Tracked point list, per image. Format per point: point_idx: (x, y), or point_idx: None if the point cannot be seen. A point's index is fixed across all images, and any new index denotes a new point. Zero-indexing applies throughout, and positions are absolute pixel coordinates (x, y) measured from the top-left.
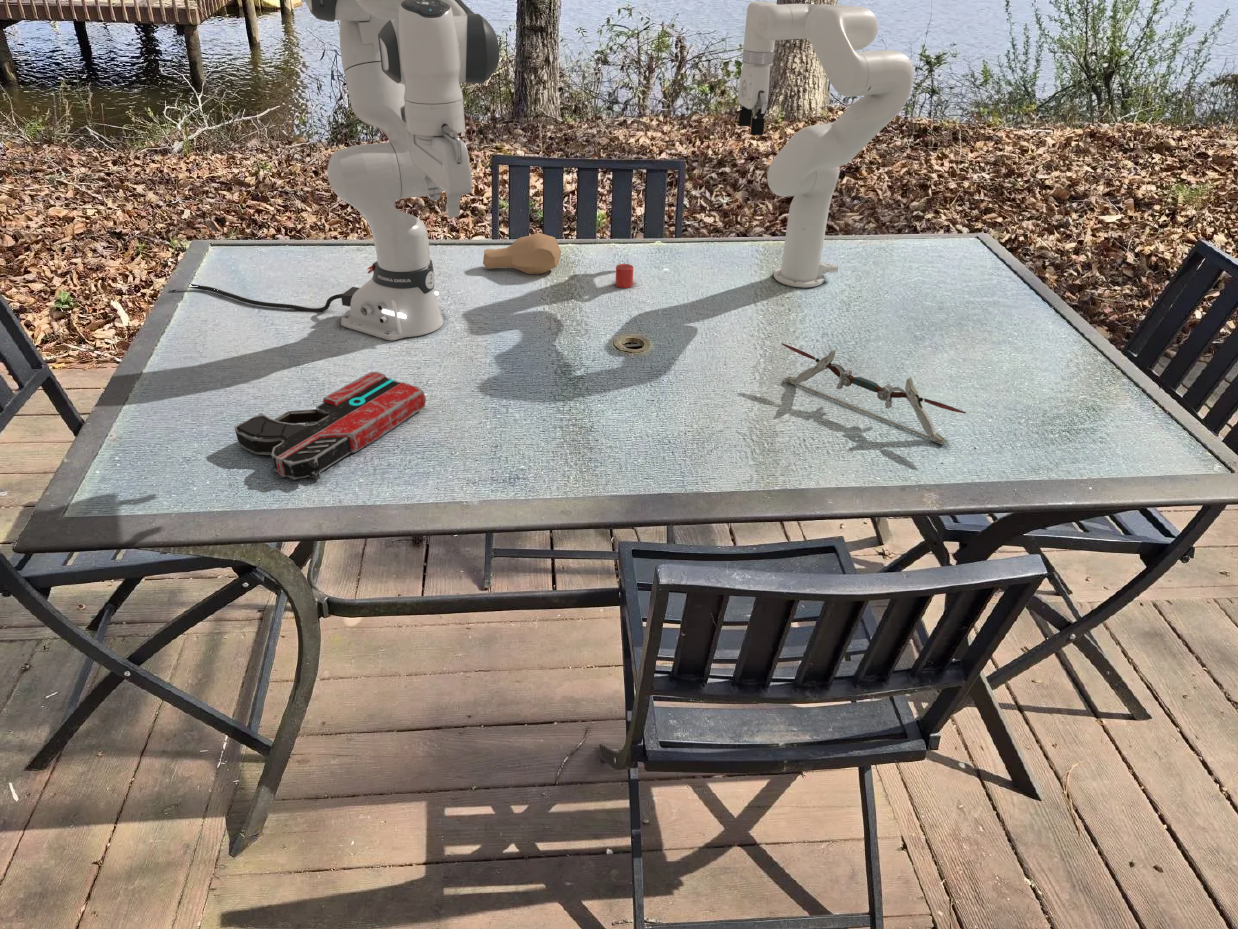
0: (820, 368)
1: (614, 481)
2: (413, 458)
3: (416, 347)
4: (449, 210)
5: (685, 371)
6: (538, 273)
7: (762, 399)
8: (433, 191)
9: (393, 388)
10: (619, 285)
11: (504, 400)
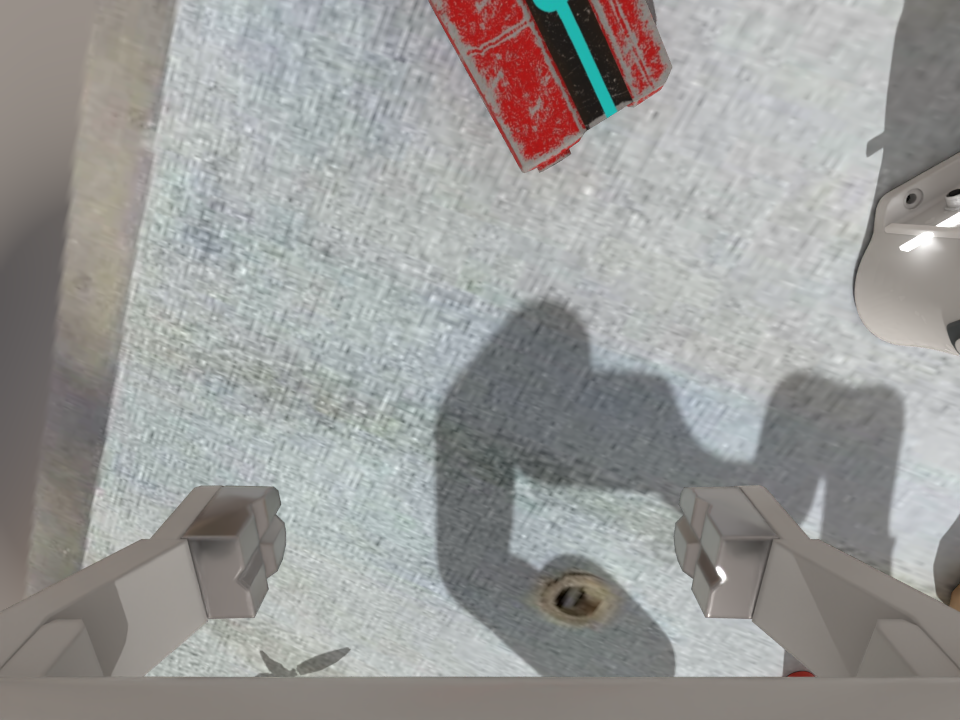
0: None
1: (155, 389)
2: (340, 76)
3: (810, 244)
4: (170, 521)
5: (446, 622)
6: (957, 586)
7: (319, 665)
8: (708, 559)
9: (562, 99)
10: (796, 675)
11: (487, 330)
